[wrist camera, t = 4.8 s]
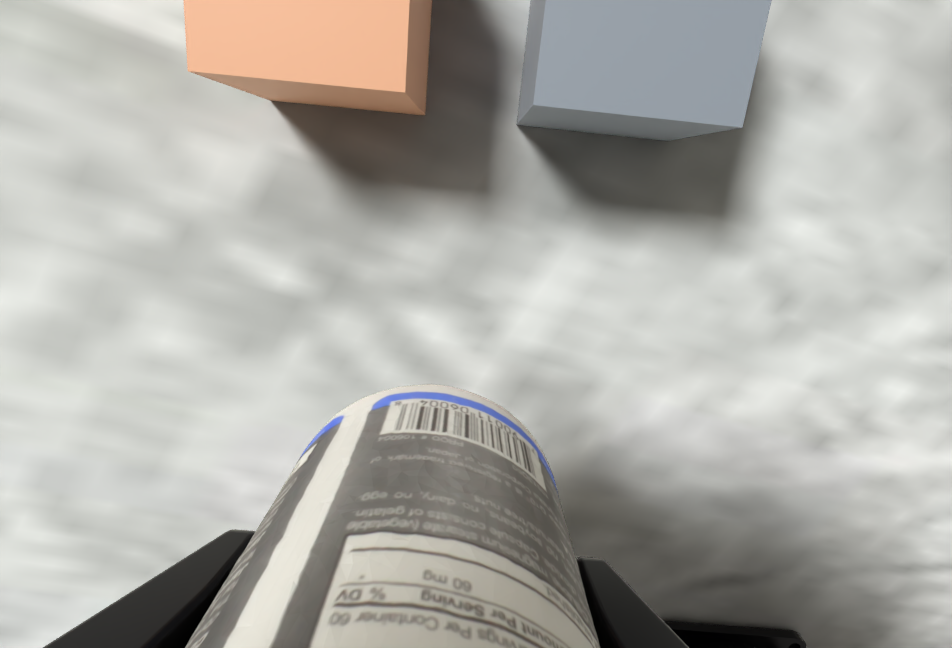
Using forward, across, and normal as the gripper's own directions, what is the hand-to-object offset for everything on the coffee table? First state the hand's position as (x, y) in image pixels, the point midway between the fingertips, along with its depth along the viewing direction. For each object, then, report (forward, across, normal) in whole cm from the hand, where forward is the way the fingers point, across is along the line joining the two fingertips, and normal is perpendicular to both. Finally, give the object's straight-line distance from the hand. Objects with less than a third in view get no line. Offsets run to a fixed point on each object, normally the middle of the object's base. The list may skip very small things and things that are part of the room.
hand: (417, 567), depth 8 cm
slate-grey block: (+12, -4, -10) cm, 16 cm away
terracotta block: (+12, +4, -10) cm, 16 cm away
